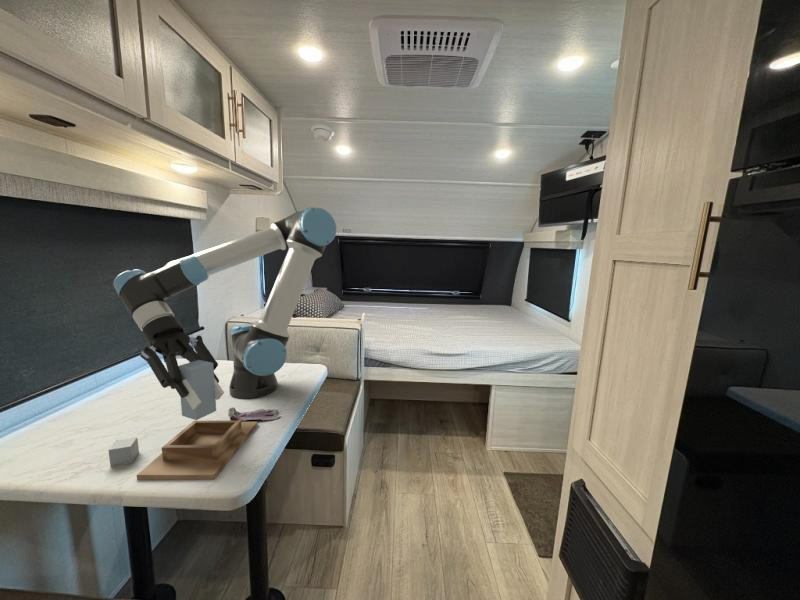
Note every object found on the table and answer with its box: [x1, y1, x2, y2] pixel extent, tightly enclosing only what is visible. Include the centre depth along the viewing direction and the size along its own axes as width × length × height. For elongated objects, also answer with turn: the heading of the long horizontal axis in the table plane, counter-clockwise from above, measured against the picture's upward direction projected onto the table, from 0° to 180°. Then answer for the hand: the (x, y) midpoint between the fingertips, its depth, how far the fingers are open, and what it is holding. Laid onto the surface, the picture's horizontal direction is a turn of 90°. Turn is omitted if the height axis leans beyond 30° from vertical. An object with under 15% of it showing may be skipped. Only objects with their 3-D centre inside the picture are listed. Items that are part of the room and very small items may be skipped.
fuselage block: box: [178, 360, 217, 421], centre depth 78 cm, size 5×5×12 cm
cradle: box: [136, 420, 259, 480], centre depth 80 cm, size 22×16×4 cm
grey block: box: [108, 436, 140, 467], centre depth 76 cm, size 4×4×4 cm
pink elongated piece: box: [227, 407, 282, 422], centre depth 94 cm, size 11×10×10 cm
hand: (209, 400), depth 76 cm, fingers closed on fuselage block, 5 cm apart
